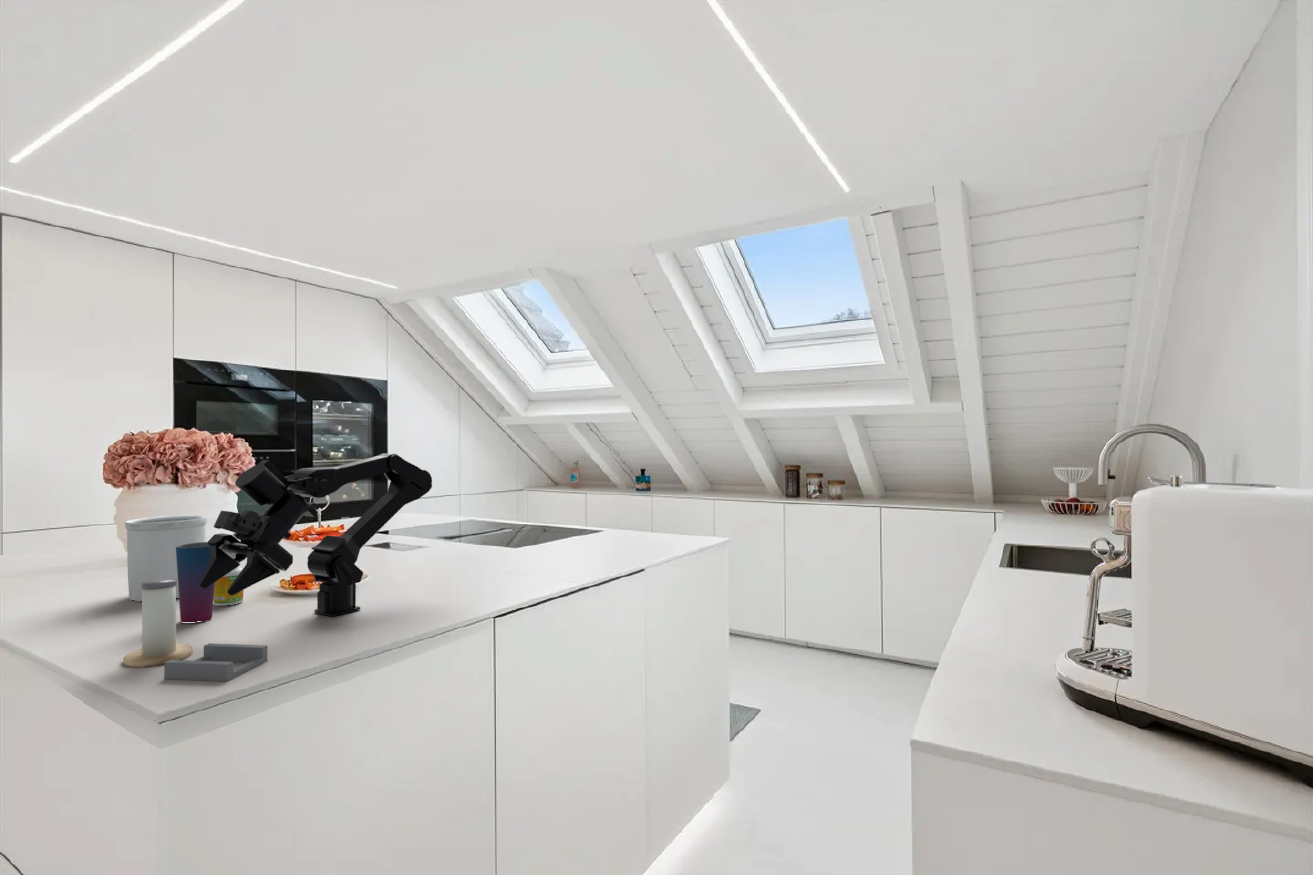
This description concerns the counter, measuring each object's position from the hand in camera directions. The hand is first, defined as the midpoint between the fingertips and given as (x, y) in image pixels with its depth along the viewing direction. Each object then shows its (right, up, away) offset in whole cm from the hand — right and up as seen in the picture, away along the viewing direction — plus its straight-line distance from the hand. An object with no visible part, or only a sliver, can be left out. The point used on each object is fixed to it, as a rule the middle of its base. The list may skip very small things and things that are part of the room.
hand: (214, 590), depth 111 cm
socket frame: (+9, -9, -12) cm, 18 cm away
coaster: (-4, -9, -7) cm, 13 cm away
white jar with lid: (-4, -8, -7) cm, 12 cm away
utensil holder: (-34, -9, +33) cm, 49 cm away
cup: (-13, -9, +14) cm, 21 cm away
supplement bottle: (-15, -9, +26) cm, 32 cm away
